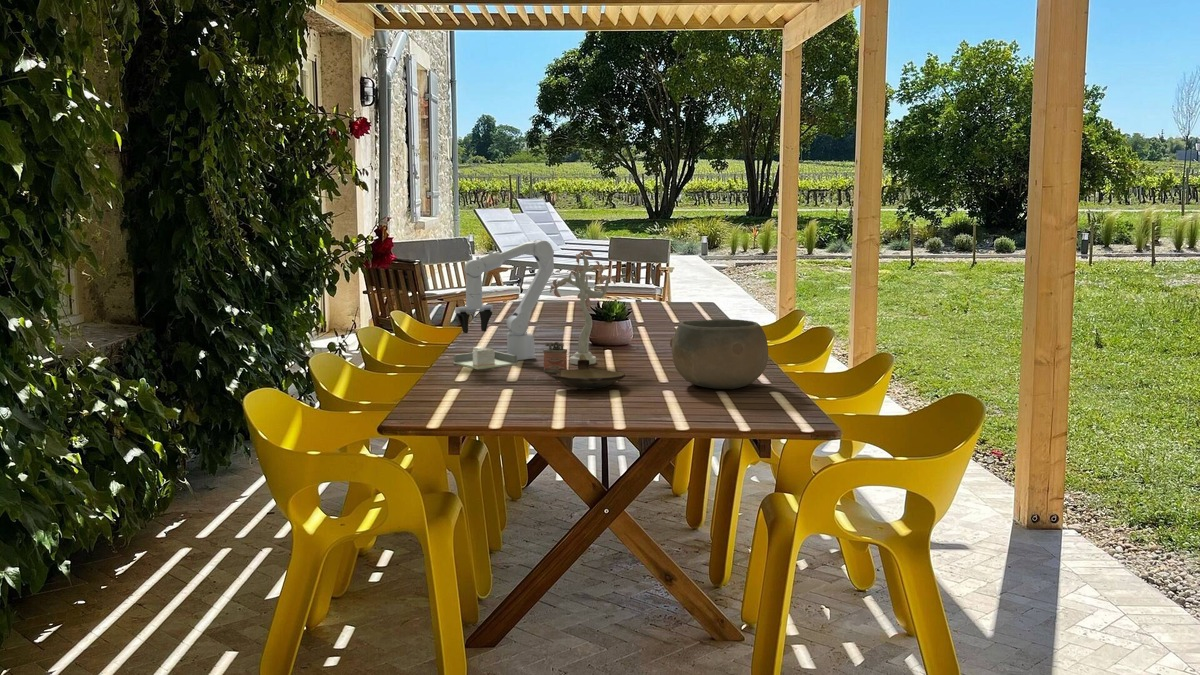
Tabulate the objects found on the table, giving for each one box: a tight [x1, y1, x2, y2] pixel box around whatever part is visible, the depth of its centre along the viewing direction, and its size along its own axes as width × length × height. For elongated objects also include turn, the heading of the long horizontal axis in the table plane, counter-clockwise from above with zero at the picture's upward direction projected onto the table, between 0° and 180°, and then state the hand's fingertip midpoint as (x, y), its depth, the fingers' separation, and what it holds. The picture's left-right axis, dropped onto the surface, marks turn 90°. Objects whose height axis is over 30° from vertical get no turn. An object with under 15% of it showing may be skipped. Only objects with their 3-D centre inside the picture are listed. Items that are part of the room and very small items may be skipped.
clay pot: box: [669, 318, 769, 390], centre depth 305 cm, size 30×30×20 cm
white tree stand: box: [549, 249, 617, 366], centre depth 350 cm, size 28×24×40 cm
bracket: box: [472, 346, 495, 366], centre depth 346 cm, size 9×7×5 cm
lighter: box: [542, 341, 568, 373], centre depth 333 cm, size 8×3×10 cm, turn 84°
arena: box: [453, 350, 518, 370], centre depth 349 cm, size 16×16×3 cm
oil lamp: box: [550, 354, 626, 390], centre depth 307 cm, size 22×30×8 cm
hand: (474, 332), depth 355 cm, fingers open, 7 cm apart
